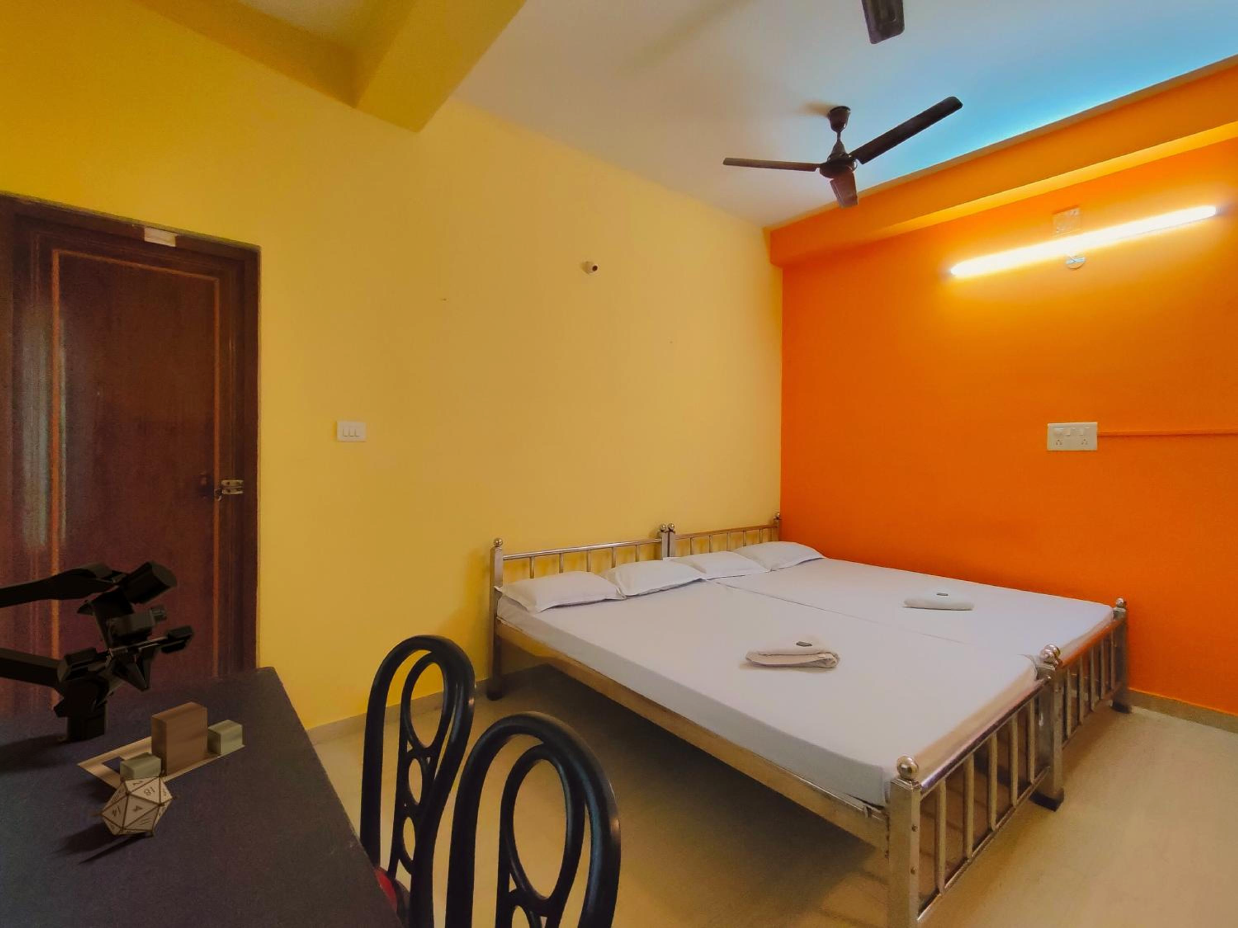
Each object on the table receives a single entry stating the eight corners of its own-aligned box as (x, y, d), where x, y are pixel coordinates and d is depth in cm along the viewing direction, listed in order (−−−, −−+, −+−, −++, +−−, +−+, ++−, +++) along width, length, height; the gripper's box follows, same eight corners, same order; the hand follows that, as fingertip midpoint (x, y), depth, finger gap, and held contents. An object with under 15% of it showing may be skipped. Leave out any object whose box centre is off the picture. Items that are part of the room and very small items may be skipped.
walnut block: (151, 767, 94) (151, 715, 94) (191, 750, 99) (191, 701, 99) (166, 776, 92) (166, 722, 92) (207, 758, 97) (207, 707, 97)
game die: (138, 865, 79) (114, 839, 73) (94, 835, 81) (67, 807, 75) (198, 803, 86) (181, 775, 80) (156, 777, 88) (136, 747, 82)
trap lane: (77, 770, 95) (76, 740, 95) (190, 727, 110) (190, 701, 110) (130, 804, 86) (130, 771, 86) (245, 751, 102) (245, 724, 101)
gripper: (61, 607, 94) (90, 685, 89) (189, 583, 110) (220, 648, 105) (45, 644, 98) (72, 721, 93) (171, 616, 114) (199, 680, 109)
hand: (146, 690), depth 100 cm, fingers closed
